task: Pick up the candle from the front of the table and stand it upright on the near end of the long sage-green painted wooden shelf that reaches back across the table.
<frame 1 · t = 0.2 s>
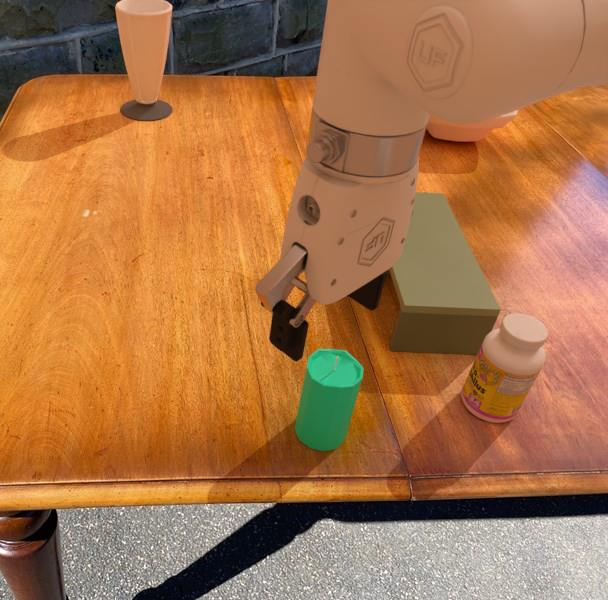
hand: (324, 325, 54), 22 cm above the table, tool pointing down, fingers open, 9 cm apart
bowl: (450, 134, 136), on the table
supplement bottle: (487, 405, 77), on the table
cup: (146, 110, 139), on the table
candle: (320, 431, 73), on the table
shelf: (412, 286, 94), on the table
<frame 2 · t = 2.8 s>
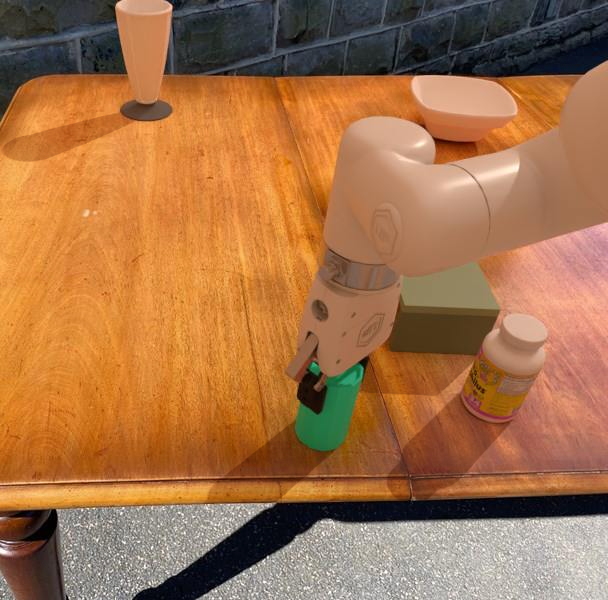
hand: (329, 389, 69), 7 cm above the table, tool pointing down, fingers closed on candle, 5 cm apart
candle: (320, 431, 73), on the table, touching gripper
everything else where it was.
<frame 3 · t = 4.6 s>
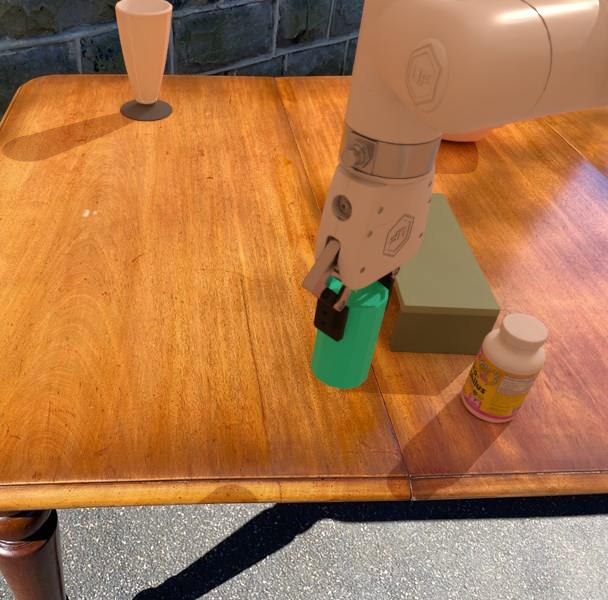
hand: (350, 317, 61), 18 cm above the table, tool pointing down, fingers closed on candle, 5 cm apart
candle: (338, 369, 66), point 11 cm above the table, touching gripper
everything else where it was.
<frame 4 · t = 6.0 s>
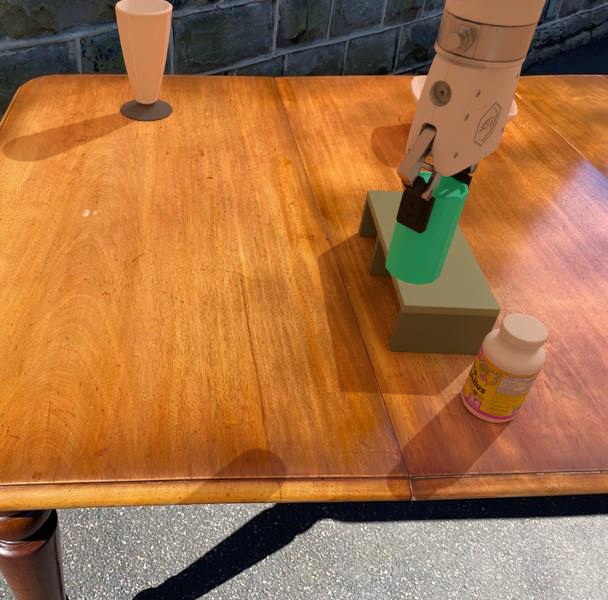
hand: (429, 214, 65), 24 cm above the table, tool pointing down, fingers closed on candle, 5 cm apart
candle: (411, 269, 70), point 17 cm above the table, touching gripper
everything else where it was.
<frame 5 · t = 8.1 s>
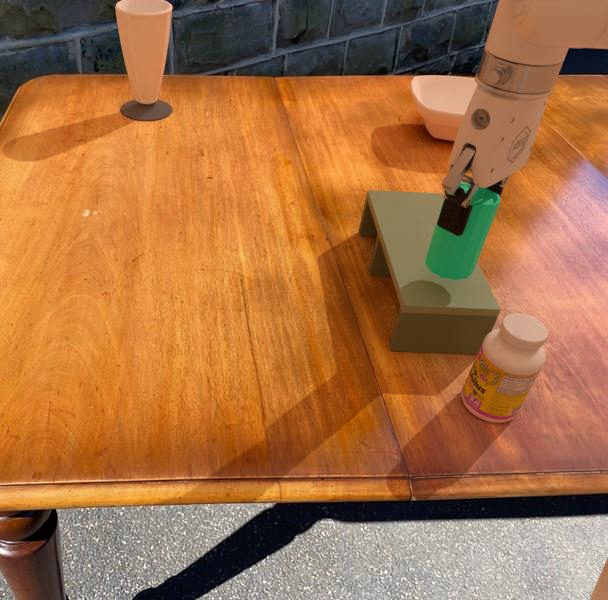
hand: (465, 219, 76), 18 cm above the table, tool pointing down, fingers closed on candle, 5 cm apart
candle: (448, 266, 81), point 11 cm above the table, touching gripper
everything else where it was.
when the fingers open (15 cm above the table, at t = 9.4 s): candle stays where it is, resting on shelf.
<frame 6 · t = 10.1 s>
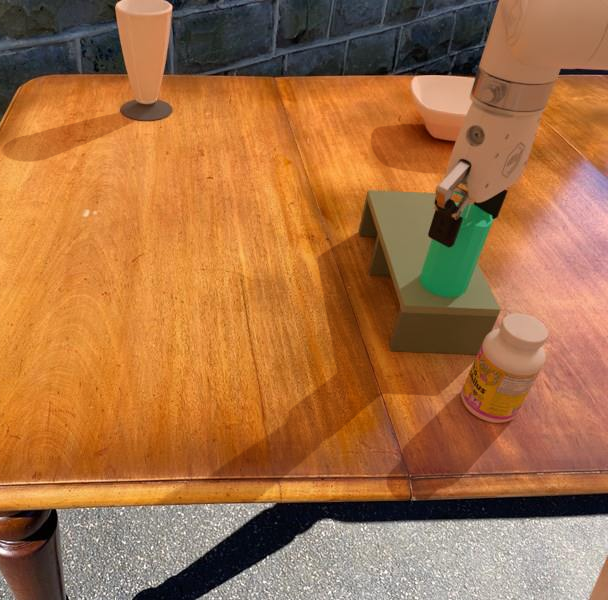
hand: (463, 227, 77), 17 cm above the table, tool pointing down, fingers open, 9 cm apart
candle: (442, 284, 82), point 8 cm above the table, touching shelf
everything else where it was.
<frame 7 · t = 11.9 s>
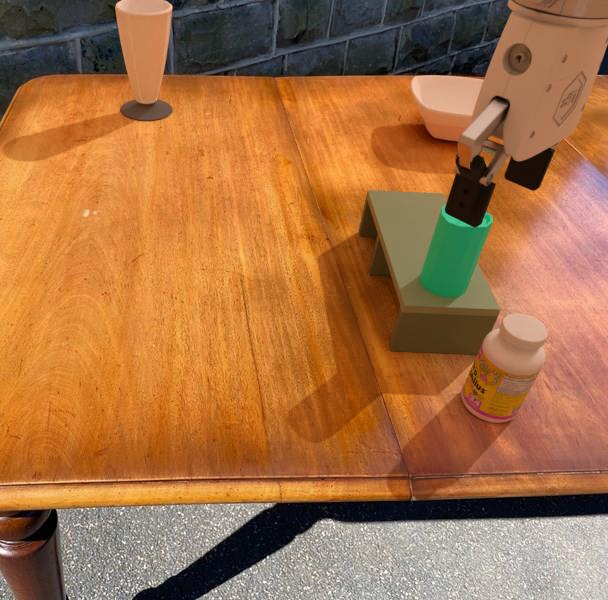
hand: (492, 201, 56), 30 cm above the table, tool pointing down, fingers open, 9 cm apart
nothing on the table moved.
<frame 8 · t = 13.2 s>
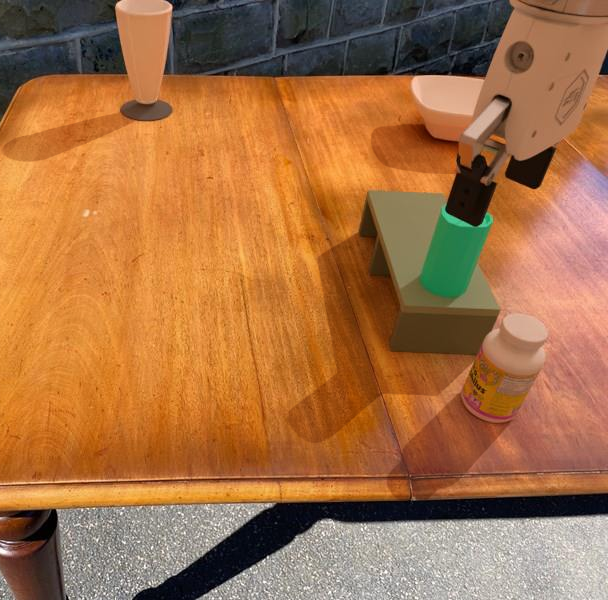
hand: (493, 199, 55), 30 cm above the table, tool pointing down, fingers open, 9 cm apart
nothing on the table moved.
at the end: candle inside the target area on the shelf (0.3 cm from its centre), point 7.8 cm above the shelf's base; candle tilted 0°; the gripper is holding nothing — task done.
